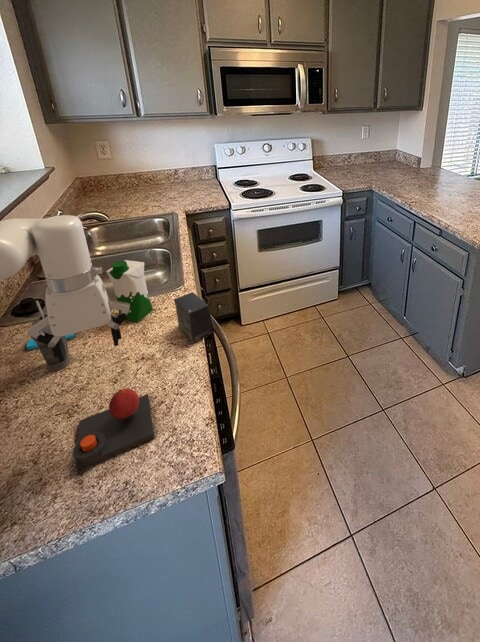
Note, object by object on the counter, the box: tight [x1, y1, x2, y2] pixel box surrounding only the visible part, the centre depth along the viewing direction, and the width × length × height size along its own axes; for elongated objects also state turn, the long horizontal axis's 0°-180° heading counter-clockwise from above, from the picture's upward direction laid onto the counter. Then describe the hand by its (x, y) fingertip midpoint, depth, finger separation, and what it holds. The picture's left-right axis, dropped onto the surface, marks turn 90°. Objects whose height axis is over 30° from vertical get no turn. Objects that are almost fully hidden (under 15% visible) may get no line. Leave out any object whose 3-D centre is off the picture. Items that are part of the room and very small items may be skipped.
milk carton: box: [105, 259, 154, 323], centre depth 115 cm, size 9×9×20 cm
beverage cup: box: [30, 300, 71, 372], centre depth 94 cm, size 7×7×20 cm
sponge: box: [25, 333, 76, 351], centre depth 107 cm, size 2×12×6 cm
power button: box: [80, 435, 97, 452], centre depth 72 cm, size 3×3×2 cm
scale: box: [72, 393, 155, 473], centre depth 78 cm, size 14×12×3 cm
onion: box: [108, 387, 140, 419], centre depth 79 cm, size 6×6×8 cm
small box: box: [173, 291, 213, 344], centre depth 108 cm, size 11×6×10 cm, turn 44°
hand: (90, 349), depth 75 cm, fingers open, 9 cm apart
